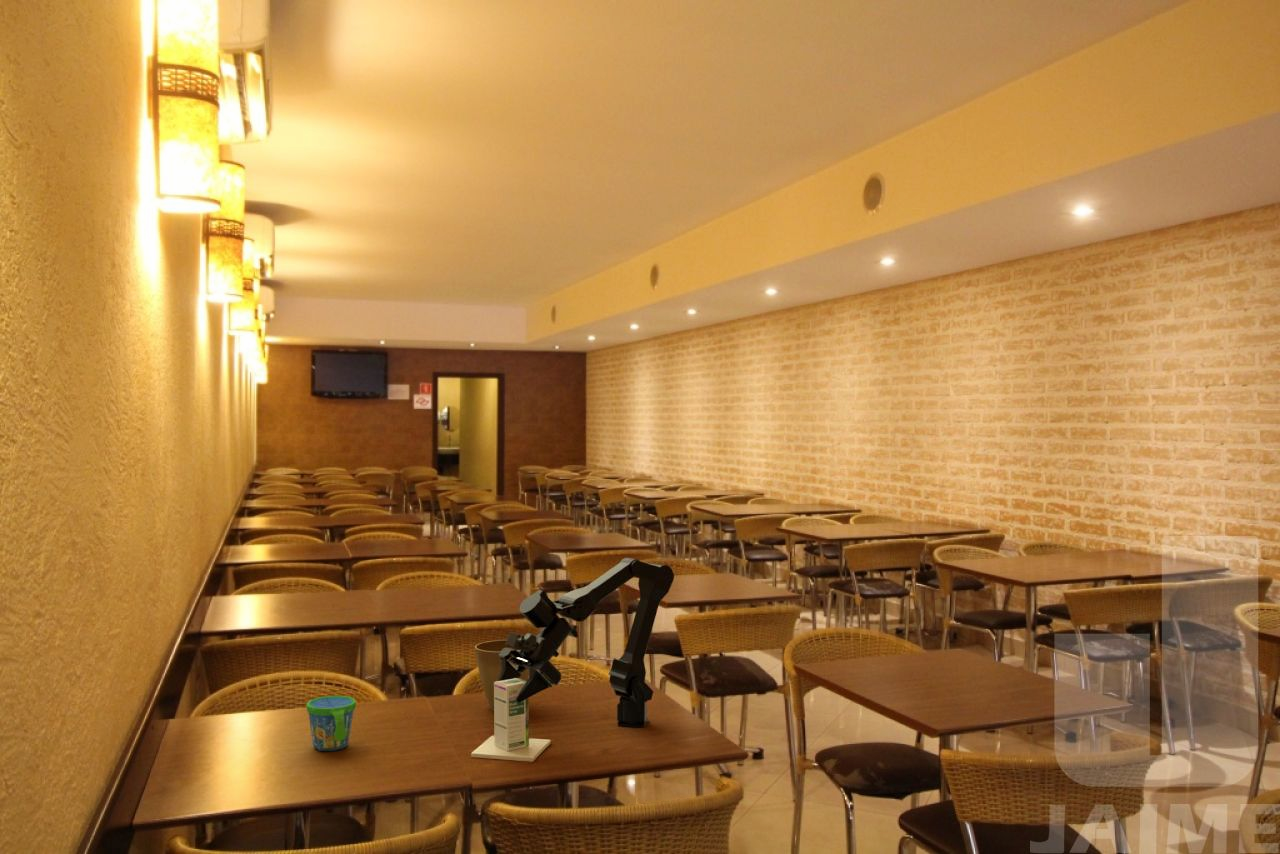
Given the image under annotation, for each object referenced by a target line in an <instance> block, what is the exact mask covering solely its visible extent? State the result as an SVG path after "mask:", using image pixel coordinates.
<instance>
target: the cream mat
mask: <svg viewBox="0 0 1280 854" xmlns="http://www.w3.org/2000/svg"><path fill="white" fill-rule="evenodd" d="M550 744H551V739H547V738H546V739H542V738H532V737H531V738H530V737H529V746H528V747H524V748H519V749H515V750H510V751H505V750H503V749H501V748H499V747H497V746H495V740H494V735H491V736H490V737H488V738H487V739H486V740H485V741H484V742H482V743H481V745H479V746H478V747H477V748H476V749H474V750H473V751H472V752H471V753H470V757H471V758H477V759H478V758H481V759H491V760H492V759H493V760H505V761H506V760H507V761H519V762H531V763H533V762H534V761H535V760H536V759H537V758H538V757H539V756H540V755H542V753H543V752H544V751H545V750H546V749H547V747H549V746H550Z"/></svg>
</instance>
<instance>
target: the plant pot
mask: <svg viewBox="0 0 1280 854" xmlns="http://www.w3.org/2000/svg"><path fill="white" fill-rule="evenodd" d="M506 641H507V639H497V640H489V641H483V642H480V643H478V644H476V645H475V646H474V650H475V656H476V662H477V666H478V667H477V668H478V673H479V676H480V681H481V684H482V688H483V692H484V695H485V697H486V698H485V699H486V700H487V703H488V706H489V708H490V709H491V710H492V711H494V682H496V681H498V679H499V677H500V674H501V670H502V663H501V661H500V656H499V653H500V652H501V651H502V649H503V648H511V649H514V650H516V651H517V652H518V649H515V648H512V647H511V646H506V645H505V644H506ZM518 653H519V652H518ZM520 655H521V654H520ZM521 656H522V655H521ZM522 657H523V656H522ZM529 671H530V670H529V669H525V671H523V672H521V673H520V672H519V673H520V674H521V676H520V677H519V678H518V679H522V680H525V681H527V680H528V679H529Z"/></svg>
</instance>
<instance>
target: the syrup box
mask: <svg viewBox="0 0 1280 854" xmlns="http://www.w3.org/2000/svg"><path fill="white" fill-rule="evenodd" d="M526 682H527V681H525V680H522V679H518V678H513V679H509V680H503V681H496V682H494V710H493V711H494V712H493V713H494V715H493V716H494V717H493V718H494V719H493V722H494V723H493V724H494V725H493V727H494V729H493V730H494V733H493V734H494V735H493V736H494V740H495V746H497V747H499V748H501V749H503V750H505V751H510V750H515V749H519V748H524V747H528V746H529V738H530V708H529V707H530V704H529V703H530V702H529V701H530V697H529V698H527V699H525V700H524V701H522V702H520V703H519V702H517V701H516V698H517V696H518V695H519V693H520V691H521V690H522V688H523V687H524V685H525V683H526Z"/></svg>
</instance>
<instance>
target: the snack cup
mask: <svg viewBox="0 0 1280 854" xmlns="http://www.w3.org/2000/svg"><path fill="white" fill-rule="evenodd" d="M356 702H357V701H356V699H355V698H354V697H350V696H345V695H328V696H319V697H316V698H313V699H311V700H308V701H307V703H306V705H305V707H306V711H307V713H308V719H309V726H310V732H311V741H312V745H313V748H315V749H316V750H318V751H324V752H333V751H338V750H339V751H340V750H343V749H344V748H346V747H348V745H349V742H350V741H349V740H350V737H351V729H352V724H353V718H354V717H353V715H354V711H355V709H356V707H357V703H356Z"/></svg>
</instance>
